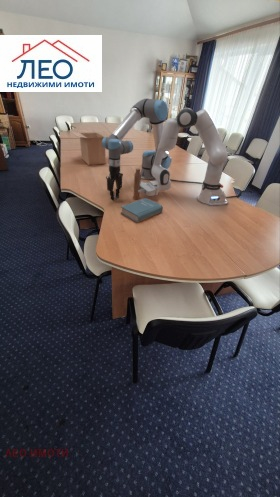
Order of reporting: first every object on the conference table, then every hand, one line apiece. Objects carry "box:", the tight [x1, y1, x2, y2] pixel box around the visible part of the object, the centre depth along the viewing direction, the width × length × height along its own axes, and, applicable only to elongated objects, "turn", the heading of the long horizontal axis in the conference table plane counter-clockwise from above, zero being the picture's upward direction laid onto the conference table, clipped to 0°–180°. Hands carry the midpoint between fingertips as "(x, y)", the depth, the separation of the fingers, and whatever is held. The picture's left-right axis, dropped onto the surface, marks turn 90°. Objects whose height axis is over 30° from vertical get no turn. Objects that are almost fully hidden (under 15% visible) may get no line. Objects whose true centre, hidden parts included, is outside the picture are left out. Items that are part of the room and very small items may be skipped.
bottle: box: [132, 167, 142, 200], centre depth 160 cm, size 5×5×22 cm
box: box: [70, 129, 111, 166], centre depth 229 cm, size 44×36×27 cm
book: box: [120, 197, 164, 223], centre depth 146 cm, size 23×16×5 cm
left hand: (114, 198), depth 159 cm, fingers closed on cap, 4 cm apart
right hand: (135, 189), depth 162 cm, fingers closed on bottle, 5 cm apart
